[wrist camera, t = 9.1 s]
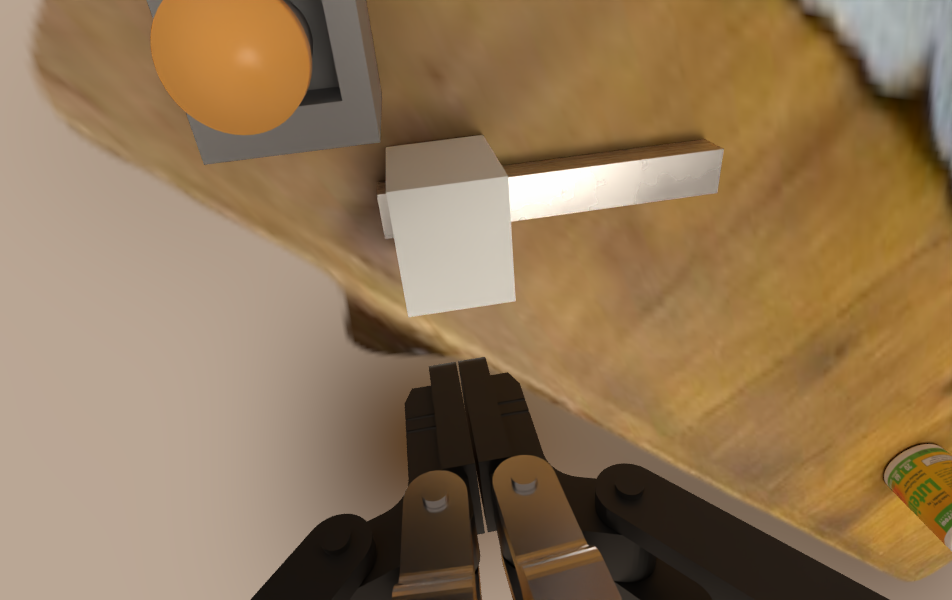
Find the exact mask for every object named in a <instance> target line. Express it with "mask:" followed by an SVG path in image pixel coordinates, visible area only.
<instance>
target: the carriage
mask: <svg viewBox="0 0 952 600" xmlns="http://www.w3.org/2000/svg"><path fill="white" fill-rule="evenodd" d="M386 196H387V202H388V207H389V213H390V218H391V224H392V229H393V235H394V240H395V246H396V252H397V257H398V263H399V268H400V274H401V279H402V285H403V290H404V296H405V301H406V307H407V312H408V317H413V316H420V315H427V314H433V313H440V312H447V311H453V310H460V309H467V308H473V307H480V306H487V305H493V304H500V303H507V302H513V301H516V300H515V284H514V267H513V250H512V233H511V217H510V200H509V183H508V175H507V174H506V172H505V170H504V169H503V167H502V165H501V164H500V162H499V160H498V159H497V157H496V155H495V154H494V152H493V150H492V149H491V147H490V145H489V144H488V142H487V140H486V139H485V137H484V136H483V135H478V136H470V137H462V138H454V139H446V140H438V141H430V142H422V143H414V144H406V145H398V146H391V147H386Z"/></svg>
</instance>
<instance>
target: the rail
mask: <svg viewBox="0 0 952 600" xmlns="http://www.w3.org/2000/svg"><path fill="white" fill-rule="evenodd" d="M723 150H724V149H723V148H721V147H719V146H717V145H715V144H713V143H711V142H709V141H707V140H706V139H702V140H694V141H686V142H679V143H671V144H663V145H656V146H648V147H641V148H633V149H625V150H618V151H610V152H602V153H595V154H587V155H579V156H572V157H564V158H557V159H549V160H541V161H534V162H526V163H518V164H511V165H503V166H502V167H503V169H504V170H505V172H506V174H507V175H508V183H509V200H510V217H511V222H512V221H519V220H526V219H533V218H541V217H548V216H555V215H562V214H569V213H577V212H584V211H591V210H598V209H605V208H613V207H620V206H627V205H634V204H641V203H649V202H656V201H663V200H670V199H677V198H685V197H692V196H699V195H706V194H713V193H717V192H718V185H719V178H720V171H721V164H722V157H723ZM377 199H378V204H379V209H380V215H381V220H382V225H383V230H384V236H385V239H389V238H394V235H393V229H392V224H391V218H390V213H389V207H388V202H387V196H386V181H381V182H377Z"/></svg>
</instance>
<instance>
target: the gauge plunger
mask: <svg viewBox="0 0 952 600" xmlns="http://www.w3.org/2000/svg"><path fill="white" fill-rule="evenodd" d="M150 38H151V52H152V58H153V62H154V65H155V68H156V71H157V73H158V76H159V78H160V80H161V82H162V84H163V85H164V87H165V89H166V90H167V92H168V93H169V95H170V96H171V97H172V99H173V100H174V101H175V102H176V103H177V104H178V105H179V106H180V107H181V108H182V109H183V110H184V111H185V112H186V113H187V114H189V115H190V116H191V117H193V118H194V119H195V120H197V121H199V122H200V123H202V124H204V125H206V126H208V127H210V128H212V129H215V130H218V131H221V132H224V133H229V134H234V135H254V134H260V133H264V132H267V131H270V130H272V129H274V128H276V127H278V126H279V125H281V124H282V123H284V122H285V121H286V120H287V119H288V118H289V117H290V116H291V115H292V114H293V113H294V112H295V110H296V109H297V108H298V106H299V105H300V103H301V102H302V100H303V98H304V96H305V95H306V93H307V90H308V87H309V84H310V80H311V75H312V55H313V37H312V33H311V29H310V27H309V24H308V22H307V20H306V18H305V17H304V15H303V14H302V12H301V11H300V10H299V9H298V8H297V6H295V5H294V4H293V3H292V2H291V1H290V0H163V1H162V2H161V4H160V6H159V7H158V9H157V11H156V14H155V16H154V19H153V23H152V27H151V37H150Z"/></svg>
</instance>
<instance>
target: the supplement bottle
mask: <svg viewBox="0 0 952 600" xmlns="http://www.w3.org/2000/svg"><path fill="white" fill-rule="evenodd" d="M884 480H885V482H886V484H887V485H888V487H889V488H890V489H891V490H892V491H893V492H894V493H895V494H896V495H897V496H898V497H899V498H900V499H901V500H902V501H903V502H904V503H905V504H906V505H907V506H908V507H909V508H910V509H911V510H912V511H913V512H914V513H915V514H916V515H917V516H918V517H919V519H920V520H921V521H922V522H923V523H924V524H925V525H926V526H927V527H928V528H929V529H930V530H931V531H932V532H933V533H934V534H935V535H936V536H937V537H938V538H939V539H940V540H941V541H942V542H943V543H944V544H945V545H946V546H947V547H948V548H949V549H950V550H951V551H952V456H951V455H950V454H949V453H948V452H947V451H945V450H944V449H943V448H942V447H940V446H938V445H934V444H923V445H918V446H915V447H912V448H910V449H908V450H906V451H904V452H902V453H901V454H899V455H898V456H897V457H895V458H894V459H893V460H892V461H891V462H890V463H889V465H888V466H887V468H886V470H885V473H884Z"/></svg>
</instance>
